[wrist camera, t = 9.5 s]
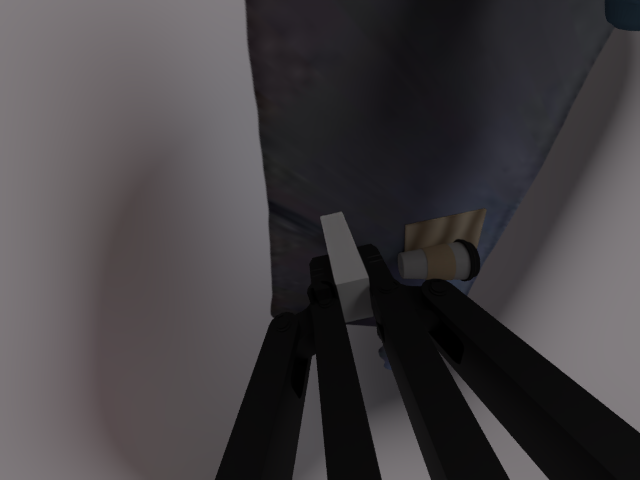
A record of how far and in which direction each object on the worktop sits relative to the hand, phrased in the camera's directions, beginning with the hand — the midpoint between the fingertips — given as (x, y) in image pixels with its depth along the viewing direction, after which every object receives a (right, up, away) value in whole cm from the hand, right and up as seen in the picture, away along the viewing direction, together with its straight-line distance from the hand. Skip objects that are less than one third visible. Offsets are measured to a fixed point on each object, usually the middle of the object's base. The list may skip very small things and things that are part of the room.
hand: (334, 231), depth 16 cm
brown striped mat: (+28, -2, +40) cm, 49 cm away
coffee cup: (+17, -6, +37) cm, 41 cm away
